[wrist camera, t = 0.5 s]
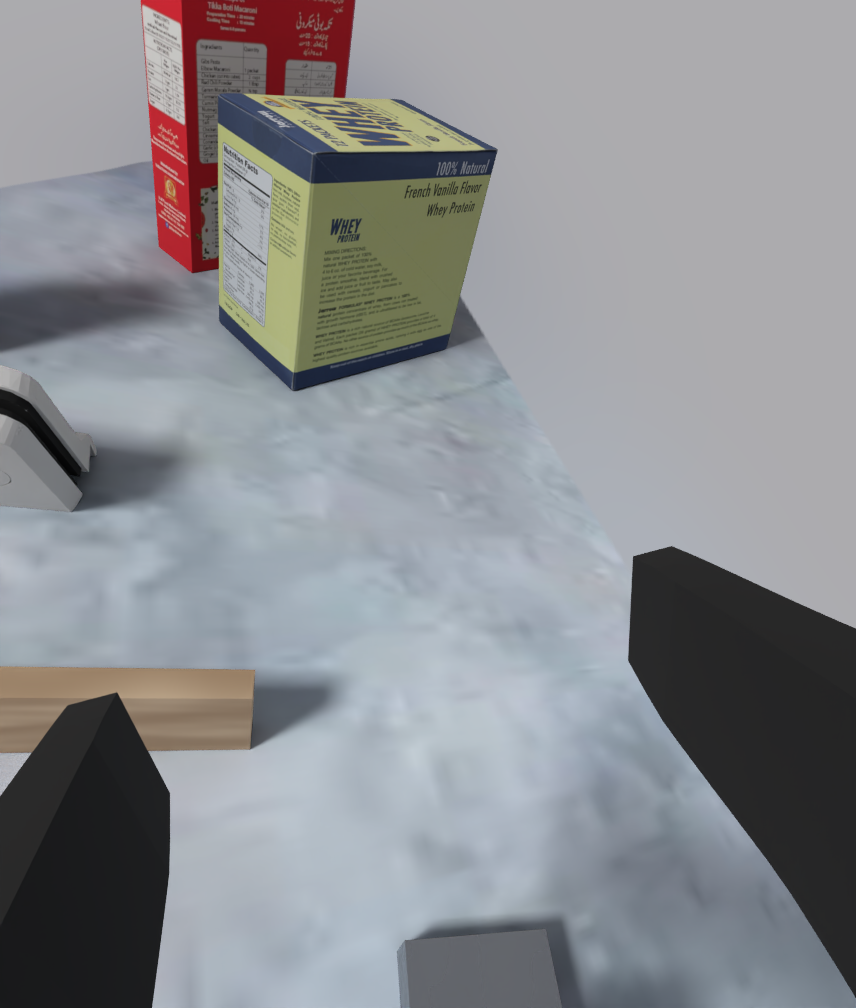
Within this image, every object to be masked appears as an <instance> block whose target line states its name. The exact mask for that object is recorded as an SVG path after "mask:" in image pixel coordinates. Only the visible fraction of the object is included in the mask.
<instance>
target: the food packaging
mask: <svg viewBox="0 0 856 1008" xmlns="http://www.w3.org/2000/svg"><path fill="white" fill-rule="evenodd" d="M141 9H142V23H143V37H144V51H145V64H146V78H147V90H148V104H149V118H150V132H151V144H152V145H151V146H152V159H153V173H154V186H155V200H156V213H157V227H158V240H159V247H160V248H161V249H162V250H164V251H165V252H166V253H168V254H169V255H170V256H171V257H173V258H174V259H175V260H176V261H178V262H179V263H180V264H181V265H183V266H184V267H185V268H186V269H188V270H189V271H190V272H192V273H195V272H201V271H207V270H213V269H218V268H219V225H218V95H219V94H224V93H244V94H260V95H280V96H302V97H329V98H345V95H346V85H347V76H348V66H349V57H350V47H351V38H352V28H353V19H354V9H355V0H141Z"/></svg>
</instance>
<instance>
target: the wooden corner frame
mask: <svg viewBox="0 0 856 1008" xmlns="http://www.w3.org/2000/svg"><path fill="white" fill-rule="evenodd" d="M254 681H255V670H228V669H150V668H72V667H0V753H23V752H33V751H34V749H35V748H36V747H37V745H38V744H39V742H40V741H41V740H42V738H43V737H44V736H45V734H46V733H47V732H48V730H49V729H50V727H51V726H52V725H53V723H54V722H55V721H56V719H57V718H58V717H59V716H60V714H61V713H62V712H63V710H64V709H65V708H66V707H67V705H70V704H74V703H78V702H82V701H85V700H89V699H93V698H97V697H101V696H104V695H108V694H112V693H116V692H117V693H118V695H119V697H120V698H121V700H122V702H123V704H124V706H125V708H126V710H127V712H128V714H129V716H130V718H131V720H132V722H133V723H134V725H135V727H136V729H137V731H138V733H139V735H140V737H141V739H142V741H143V743H144V745H145V746H146V748H147V750H148V751H166V750H237V749H250V745H251V734H252V722H253V702H254Z"/></svg>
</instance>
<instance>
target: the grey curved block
mask: <svg viewBox="0 0 856 1008" xmlns="http://www.w3.org/2000/svg"><path fill="white" fill-rule="evenodd" d="M96 453H97V449H96V447H95V445H94V442H93V440H92V438H91V436H90V435H89V434H86V433H77V432H74V431H73V429H72V428H71V427H70V425H69V424H68V423H67V421H66V420H65V418H64V417H63V416H62V414H61V413H60V412H59V410H58V409H57V407H56V406H55V405H54V403H53V402H52V401H51V399H50V398H49V396H48V395H47V394H46V392H45V391H44V390H43V388H42V387H41V385H40V384H39V383H38V382H37V381H36V380H34V379H33V378H32V377H31V376H29V375H27V374H25V373H23V372H20V371H18V370H15V369H12V368H8V367H5V366H2V365H0V506H7V507H18V508H30V509H41V510H52V511H64V512H72V511H73V509H74V508H75V507H76V506H77V504H78V502H79V501H80V499H81V497H82V495H83V494H82V492H81V491H80V490H79V489H78V488H77V483H76V482H75V480H74V479H73V478H72V477H71V476H70V475H73V476H80V473H81V472H89V460H90V456H96Z"/></svg>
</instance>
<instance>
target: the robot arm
mask: <svg viewBox="0 0 856 1008" xmlns="http://www.w3.org/2000/svg"><path fill="white" fill-rule="evenodd" d="M628 661H629V663H630V665H631V666H632V668H633V670H634V672H635V674H636V675H637V677H638V679H639V681H640V683H641V684H642V686H643V688H644V690H645V692H646V693H647V695H648V697H649V698H650V700H651V702H652V703H653V705H654V707H655V709H656V710H657V712H658V714H659V715H660V717H661V719H662V720H663V722H664V723H665V724H666V726H667V727H668V729H669V730H670V731H671V733H672V734H673V736H674V737H675V738H676V740H677V741H678V742H679V744H680V745H681V746H682V748H683V749H684V750H685V752H686V753H687V754H688V756H689V757H690V758H691V760H692V761H693V762H694V764H695V765H696V766H697V768H698V769H699V770H700V772H701V773H702V774H703V776H704V777H705V778H706V780H707V781H708V782H709V784H710V785H711V786H712V788H713V789H714V790H715V792H716V793H717V794H718V796H719V797H720V798H721V799H722V801H723V802H724V803H725V805H726V806H727V807H728V809H729V810H730V811H731V813H732V814H733V815H734V817H735V818H736V819H737V821H738V822H739V823H740V825H741V826H742V827H743V829H744V830H745V831H746V833H747V834H748V835H749V836H750V838H751V839H752V840H753V842H754V843H755V844H756V846H757V847H758V848H759V850H760V851H761V852H762V854H763V855H764V856H765V858H766V859H767V860H768V862H769V863H770V865H771V866H772V867H773V869H774V870H775V872H776V873H777V874H778V876H779V877H780V879H781V880H782V882H783V883H784V884H785V886H786V887H787V889H788V890H789V892H790V893H791V894H792V896H793V898H794V899H795V901H796V902H797V904H798V905H799V907H800V909H801V910H802V912H803V913H804V915H805V917H806V918H807V920H808V921H809V923H810V925H811V926H812V928H813V929H814V931H815V932H816V934H817V936H818V937H819V939H820V940H821V942H822V944H823V945H824V947H825V948H826V950H827V952H828V953H829V955H830V956H831V958H832V960H833V961H834V963H835V964H836V966H837V968H838V969H839V971H840V972H841V974H842V976H843V977H844V979H845V981H846V982H847V984H848V986H849V987H850V989H851V991H852V992H853V994H854V996H855V997H856V629H855V628H853V627H851V626H848V625H846V624H843V623H841V622H839V621H837V620H835V619H832V618H830V617H828V616H825V615H823V614H821V613H819V612H816V611H814V610H812V609H810V608H807V607H805V606H803V605H801V604H799V603H796V602H794V601H792V600H790V599H788V598H785V597H783V596H781V595H778V594H777V593H774V592H772V591H770V590H768V589H766V588H763V587H761V586H759V585H757V584H755V583H753V582H751V581H749V580H746V579H744V578H742V577H740V576H738V575H736V574H733V573H731V572H729V571H727V570H725V569H722V568H720V567H718V566H716V565H714V564H712V563H710V562H707V561H705V560H703V559H701V558H698V557H696V556H693V555H691V554H689V553H687V552H684V551H682V550H679V549H677V548H675V547H672V546H671V547H667V548H663V549H659V550H656V551H652V552H648V553H644V554H641V555H637V556H634V557H633V572H632V592H631V613H630V634H629V655H628ZM169 857H170V793H169V791H168V789H167V787H166V785H165V783H164V781H163V779H162V777H161V775H160V773H159V771H158V770H157V768H156V766H155V764H154V762H153V760H152V758H151V756H150V754H149V752H148V750H147V748H146V746H145V745H144V743H143V741H142V739H141V737H140V735H139V733H138V731H137V729H136V727H135V725H134V723H133V722H132V720H131V718H130V716H129V714H128V712H127V710H126V708H125V706H124V704H123V702H122V700H121V698H120V697H119V695H118V693H117V692H116V693H112V694H108V695H104V696H101V697H97V698H93V699H89V700H85V701H82V702H78V703H74V704H70V705H67V707H66V708H65V709H64V710H63V712H62V713H61V714H60V716H59V717H58V718H57V719H56V721H55V722H54V723H53V725H52V726H51V727H50V729H49V730H48V732H47V733H46V734H45V736H44V737H43V738H42V740H41V741H40V742H39V744H38V745H37V747H36V748H35V749H34V751H33V752H32V753H31V755H30V756H29V758H28V759H27V760H26V762H25V763H24V764H23V766H22V767H21V769H20V770H19V771H18V773H17V774H16V776H15V777H14V778H13V780H12V781H11V782H10V784H9V785H8V787H7V788H6V789H5V791H4V792H3V793H2V795H1V796H0V1008H152V1003H153V995H154V988H155V980H156V973H157V965H158V958H159V950H160V943H161V935H162V927H163V919H164V911H165V903H166V895H167V887H168V878H169Z"/></svg>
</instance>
